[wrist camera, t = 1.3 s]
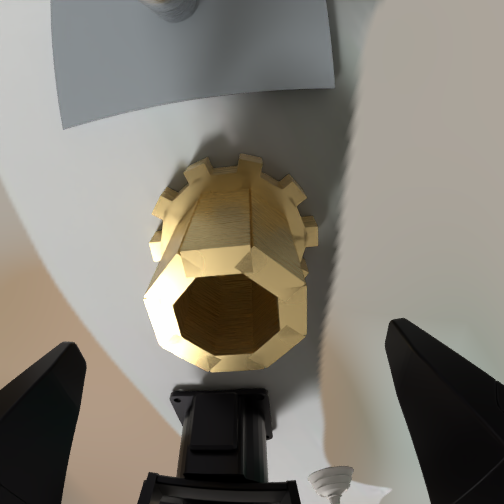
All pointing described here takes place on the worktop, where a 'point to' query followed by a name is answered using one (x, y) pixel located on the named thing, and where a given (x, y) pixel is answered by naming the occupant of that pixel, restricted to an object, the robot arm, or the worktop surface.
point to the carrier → (183, 51)
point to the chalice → (332, 482)
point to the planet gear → (230, 267)
